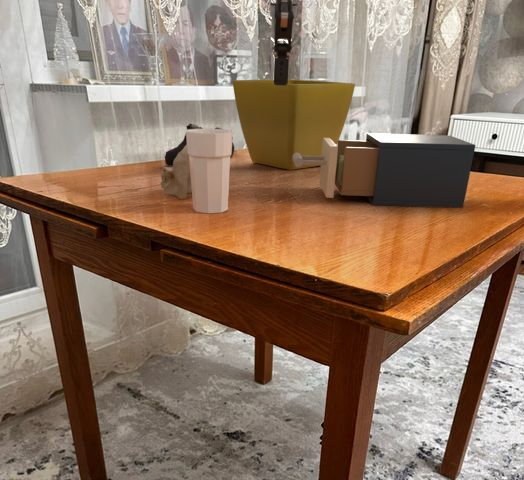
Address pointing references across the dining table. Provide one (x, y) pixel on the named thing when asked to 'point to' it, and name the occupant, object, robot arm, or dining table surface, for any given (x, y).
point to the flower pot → (290, 118)
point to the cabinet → (421, 170)
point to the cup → (209, 168)
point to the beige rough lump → (178, 176)
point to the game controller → (174, 152)
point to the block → (340, 169)
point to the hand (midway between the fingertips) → (280, 85)
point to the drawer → (345, 166)
